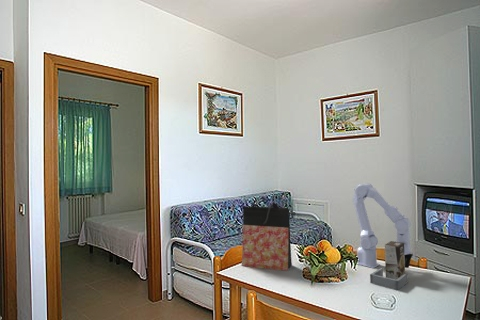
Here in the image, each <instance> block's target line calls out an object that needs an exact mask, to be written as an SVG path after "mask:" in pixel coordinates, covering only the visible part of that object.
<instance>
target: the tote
mask: <svg viewBox="0 0 480 320" xmlns="http://www.w3.org/2000/svg"><path fill="white" fill-rule="evenodd" d="M369 277H370V278H369V280H370V281H369V282H370V284H372V285H376V286H380V287H384V288H386V289H391V290H395V291H399V290H400V289H402V288H403V287H405V285H407V284H408V274H407V273H405V274H404V275H402V276H401V277H399V278H398V279H397V280H394V279H390V278H386V276H384V269H383V268H382V267H380V268H378V269H377V270H374V271H373V272H372V273H370V274H369Z"/></svg>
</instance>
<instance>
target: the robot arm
mask: <svg viewBox="0 0 480 320" xmlns="http://www.w3.org/2000/svg"><path fill="white" fill-rule="evenodd" d="M367 198H370V199H373V200H374V201H375V202H376V203H378V204H377V205H379V206H380V207H381V208H382V209H383V210H384V214H385V215H386V216H387V218H388V219H389V220H390V221H392V223H393V224H394V227H395V229H396V242H402V243H404V256H405V269H409V267H410V262H411V260H412V257H413V256H414V255H413V251H411V241H410V238H411V236H410V227H411V221H410V220H409V218H407V217H405V215H404V214H402V213H401V212H400V211H399V208H398V207H395V206H393V205H390V204H389V203H388V202H387V200H386V199H385V198H384V197H383V196H382V195H381V194H380V193H379V192H378V190H377V188H376V187H374V186H373V185H372V184H371V183H369V182H366V183H360V184H358V185H357V186H355V189H354V194H353V197H352V202H353V205H354V209H355V214H356V217H357V221H358V224H359V228H360V235H359V237H360V240H359V245H360V246H359V247H357V250H356V258H357V257H358V259H359V260H358V264H357V265H359V266H364V267H367V268H372V269H375V268H377V267H378V266H380V263H378V261H377V259H378V258H377V256H378V255H377V244H379V243H378V242H379V241H378V238H377V237H376V235H375V233H374V231H373V230H372V228H371V224H370V220H369V217H368V213H367V210H366V205H365V200H366V199H367Z"/></svg>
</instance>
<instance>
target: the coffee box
mask: <svg viewBox="0 0 480 320" xmlns="http://www.w3.org/2000/svg"><path fill="white" fill-rule="evenodd" d="M384 260H385V261H384V263H385V266H384V267H385V270H384V271H385V277H386V278H390V279H394V280H397V279H398V278H399V277H401V276H402V275H404V274H406V268H405V256H404V243H402V242H397V241H393V240H390V241H389V242H387V243H385V244H384Z"/></svg>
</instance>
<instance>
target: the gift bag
mask: <svg viewBox="0 0 480 320" xmlns="http://www.w3.org/2000/svg"><path fill="white" fill-rule="evenodd" d="M290 216H296V211H291V212H290V210H289V207H279V206H278V205H277V204H276V202H272V203H271V204H270V206H260V205H258V204H256V203H252V206H248V205H247V206H246V205H245V206H244V205H243V206H242V221H243V222H242V247H241V248H242V249H241V250H242V251H241V252H242V255H241V266H242V267H249V268H259V269H267V270H277V271H284V272H285V271H286V272H287V271H288V272H289V270H290V268H291V267H292V265H293V263H292V249H291V247H292V245H291V228H290V227H291V225H290V223H291V222H290Z"/></svg>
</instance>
